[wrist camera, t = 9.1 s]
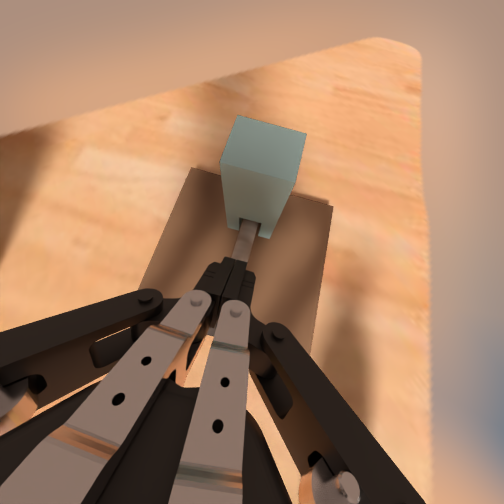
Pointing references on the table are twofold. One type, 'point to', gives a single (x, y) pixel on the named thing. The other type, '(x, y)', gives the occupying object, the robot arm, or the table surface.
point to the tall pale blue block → (259, 172)
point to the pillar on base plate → (246, 253)
